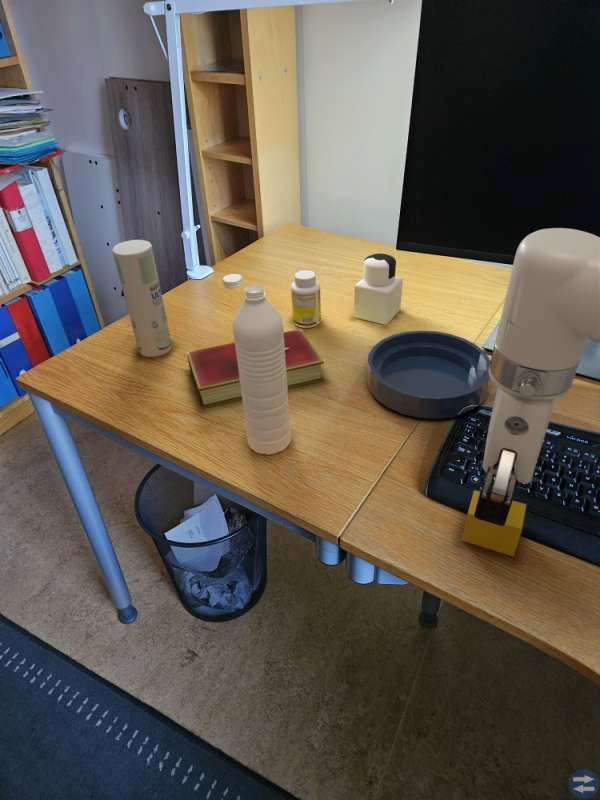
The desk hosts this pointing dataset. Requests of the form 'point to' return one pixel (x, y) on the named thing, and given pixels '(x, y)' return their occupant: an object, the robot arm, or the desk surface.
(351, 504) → the desk surface
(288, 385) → the hardcover book
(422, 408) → the bowl
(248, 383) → the water bottle
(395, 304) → the blocky head figurine
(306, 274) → the supplement bottle
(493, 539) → the sponge
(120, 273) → the spray can
